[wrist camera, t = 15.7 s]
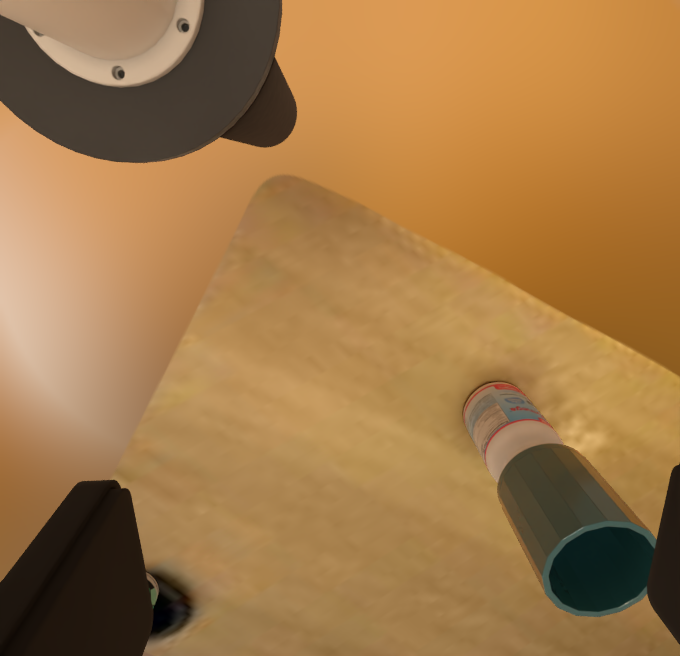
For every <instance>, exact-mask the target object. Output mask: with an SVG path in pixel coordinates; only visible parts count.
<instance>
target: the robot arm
mask: <svg viewBox="0 0 680 656" xmlns="http://www.w3.org/2000/svg"><path fill="white" fill-rule="evenodd" d="M203 13H204V0H0V15H2V16H4V17H6V18H8V19H11V20H13V21H15V22H17V23H19V24H21V25H24V26H25V28H26V29H27V31H28V33H29V34H30V35H31V36H32V38H33V39H34V40H35V42H36V43H37V44H38V45H39V47H40V48H41V49H42V50H43V51H44V52H45V53H46V54H47V55H48V56H49V57H50V58H52V59H53V60H54V61H55V62H56V63H57V64H59V65H60V66H62V67H63V68H65V69H66V70H68V71H69V72H71V73H72V74H75V75H77V76H79V77H81V78H84V79H86V80H88V81H91V82H94V83H97V84H101V85H104V86H112V87H120V88H123V87H135V86H140V85H144V84H147V83H150V82H154V81H155V80H157V79H159V78H161V77H163V76H164V75H166V74H168V73H169V72H170V71H171V70H172V69H174V68H175V67H176V66H177V65H178V64H179V63H180V62H181V61H182V60H183V58H184V57H185V56H186V54H187V53H188V51H189V50H190V49H191V47H192V45H193V43H194V41H195V38H196V36H197V34H198V32H199V29H200V25H201V21H202V17H203ZM184 25H189V30H188V31H187V32H184V31H183V27H184ZM122 71H124V72H125V76H124V78H121V77H120V73H121V72H122ZM647 594H648V598H649V601H650V603H651V606H652V607H653V609H654V610H655V612H656V613H657V614H658V616H659V617H660V619H661V620H662V621H663V623H664V624H665V625H666V627H667V628H668V629H669V631H670V632H671V633H672V635H673V636H674V638H675V639H676V640H677V642H678V643H679V644H680V464H679V465H677V466H675V467H674V468H673V470H672V473H671V477H670V481H669V486H668V490H667V495H666V500H665V504H664V509H663V513H662V518H661V522H660V527H659V532H658V536H657V541H656V545H655V550H654V554H653V559H652V563H651V568H650V573H649V577H648V582H647ZM152 624H153V606H152V601H151V596H150V591H149V585H148V580H147V575H146V570H145V565H144V560H143V554H142V549H141V544H140V539H139V534H138V528H137V523H136V518H135V513H134V508H133V503H132V497H131V494H130V491H129V490H128V489H126V488H122V489H121V487H120V485H119V483H118V482H117V481H115V480H103V481H82V482H79V483H77V484H76V485H75V486H74V488H73V489H72V490H71V491H70V493H69V494H68V495H67V497H66V498H65V500H64V501H63V502H62V503H61V505H60V506H59V507H58V508H57V510H56V511H55V512H54V514H53V515H52V516H51V518H50V519H49V520H48V522H47V523H46V524H45V526H44V527H43V528H42V529H41V531H40V532H39V533H38V535H37V536H36V537H35V539H34V540H33V541H32V542H31V544H30V545H29V547H28V548H27V549H26V550H25V552H24V553H23V554H22V556H21V557H20V558H19V560H18V561H17V562H16V564H15V565H14V566H13V567H12V569H11V570H10V571H9V573H8V574H7V575H6V577H5V578H4V579H3V580H2V581H1V582H0V656H142V655H143V652H144V649H145V647H146V644H147V641H148V638H149V636H150V632H151V629H152Z"/></svg>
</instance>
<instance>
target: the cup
mask: <svg viewBox="0 0 680 656" xmlns="http://www.w3.org/2000/svg"><path fill="white" fill-rule="evenodd" d="M497 493H498V498H499V501H500V504H501V505H502V509H503V511H504V513H505V515H506V517H507V519H508V521H509V523H510V525H511V527H512V529H513V531H514V533H515V535H516V537H517V539H518V541H519V543H520V545H521V547H522V549H523V551H524V553H525V555H526V557H527V559H528V560H529V562H530V564H531V566H532V568H533V570H534V572H535V574H536V576H537V578H538V580H539V582H540V584H541V586H542V588H543V590H544V592H545V594H546V595H547V596H548V597H549V599H550V600H551V601H552V602H553V603H554V604H555V605H556V607H558V608H559V609H562V610H564V611H566V612H569V613H571V614H573V615H576V616H588V617H601V616H605V615H609V614H613V613H617V612H621V611H623V610H625V609H627V608H628V607H630V606H632V605H634V604H635V603H637V602H639V601H641V600H642V599H643V598H644V597H645V596H646V594H647V582H648V577H649V573H650V568H651V563H652V559H653V554H654V550H655V545H656V541H657V540H656V538H655V537H654V536H653V534H652V533H651V532H650V530H649V529H648V528H647V527H646V526H645V525H644V524H643V523H642V521H641V520H640V519H639V518H638V517H637V516H636V515H635V513H634V512H633V511H632V510H631V509H630V508H629V507H628V505H627V504H626V503H625V502H624V501H623V500H622V499H621V498H620V496H619V495H618V494H617V493H616V492H615V491H614V490H613V488H612V487H611V486H610V485H609V484H608V483H607V482H606V480H605V479H604V478H603V477H602V476H601V475H600V474H599V473H598V471H597V470H596V469H595V468H594V467H593V466H592V465H591V463H590V462H589V461H588V460H587V459H586V458H585V457H584V456H583V455H582V454H581V453H579V452H578V451H577V450H575V449H573V448H571V447H569V446H566V445H562V444H556V443H548V444H540V445H536V446H533V447H530V448H528V449H525V450H524V451H522V452H520V453H519V454H517V455H516V456H515V457H513V458H512V459H511V460H510V461H509V462H508V464H507V465H506V466H505V467H504V469H503V471H502V473H501V475H500V477H499V481H498V486H497Z"/></svg>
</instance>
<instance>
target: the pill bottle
mask: <svg viewBox="0 0 680 656" xmlns="http://www.w3.org/2000/svg"><path fill="white" fill-rule="evenodd" d="M463 418H464V423H465V426H466V428H467V430H468V432H469V434H470V436H471V438H472V440H473V441H474V443H475V445H476V447H477V449H478V451H479V453H480V455H481V457H482V459H483V461H484V462H485V464H486V466H487V468H488V470H489V472H490V474H491V475H492V477H493V478H494V479H495V480H496V481H497V482H498V481H499V477H500V475H501V473H502V471H503V469H504V467H505V466H506V465H507V464H508V462H509V461H510V460H511V459H512V458H513V457H515V456H516V455H517V454H519V453H520V452H522V451H524V450H525V449H528V448H530V447H533V446H536V445H540V444H548V443H556V444H562V445H563V442H562V440H561V438H560V437H559V435H558V434H557V433H556V431H555V430H554V429H553V428H552V427H551V425H550V424H549V423H548V422H547V421H546V419H545V418H544V417H543V416H542V415H541V414H540V412H539V411H538V410H537V409H536V408H535V406H534V405H533V404H532V403H531V402H530V400H529V399H528V398H527V397H526V396H525V394H524V393H523V392H522V391H521V390H520V389H518V388H517V387H515V386H514V385H511V384H509V383H504V382H494V383H489V384H486V385H484V386H482V387H480V388H479V389H477V390H476V391H475V392H474V393H473V394H472V395H471V396H470V398H469V399H468V401H467V402H466V405H465V407H464V412H463Z"/></svg>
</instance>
